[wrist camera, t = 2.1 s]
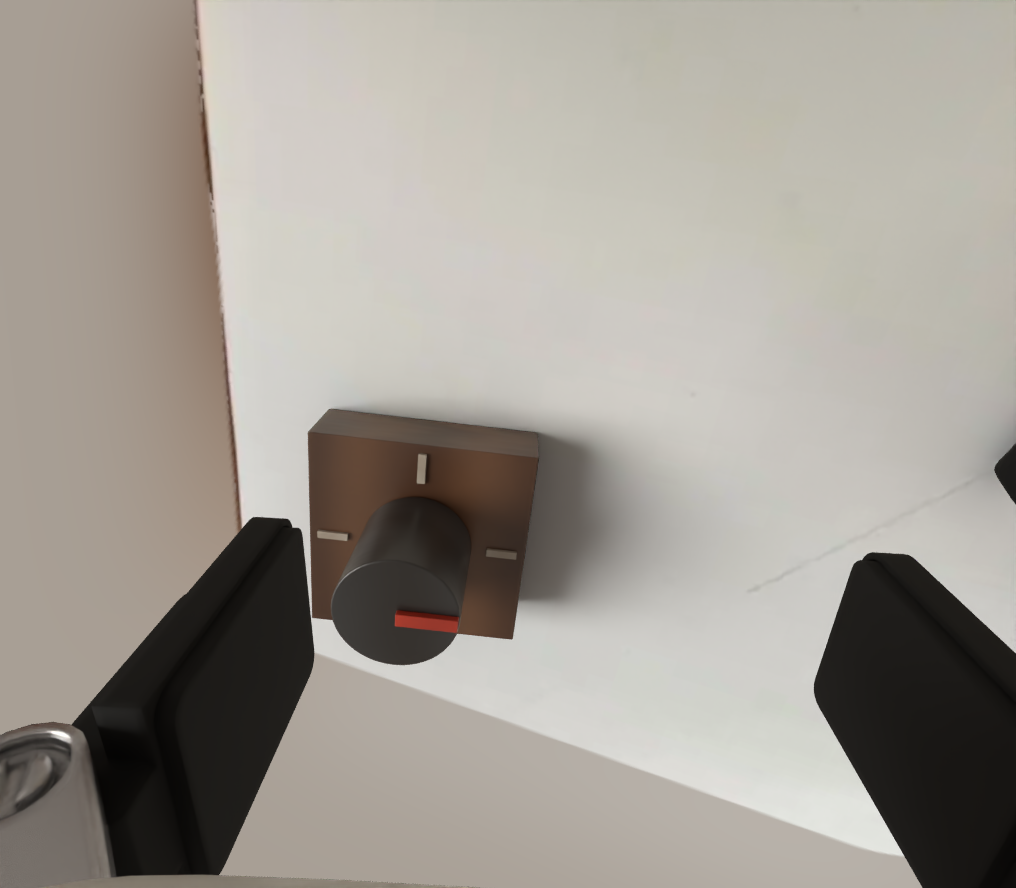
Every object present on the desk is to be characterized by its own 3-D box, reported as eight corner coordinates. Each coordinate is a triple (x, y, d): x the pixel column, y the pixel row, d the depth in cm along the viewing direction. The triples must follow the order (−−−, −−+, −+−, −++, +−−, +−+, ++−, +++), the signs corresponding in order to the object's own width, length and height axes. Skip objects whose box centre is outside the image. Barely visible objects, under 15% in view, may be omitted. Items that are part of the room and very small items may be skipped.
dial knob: (362, 582, 28) (328, 664, 23) (364, 490, 26) (327, 558, 21) (466, 594, 28) (454, 677, 23) (476, 503, 26) (464, 573, 21)
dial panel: (330, 581, 32) (310, 620, 29) (328, 408, 28) (306, 433, 25) (513, 601, 32) (512, 642, 29) (537, 432, 28) (539, 459, 25)
